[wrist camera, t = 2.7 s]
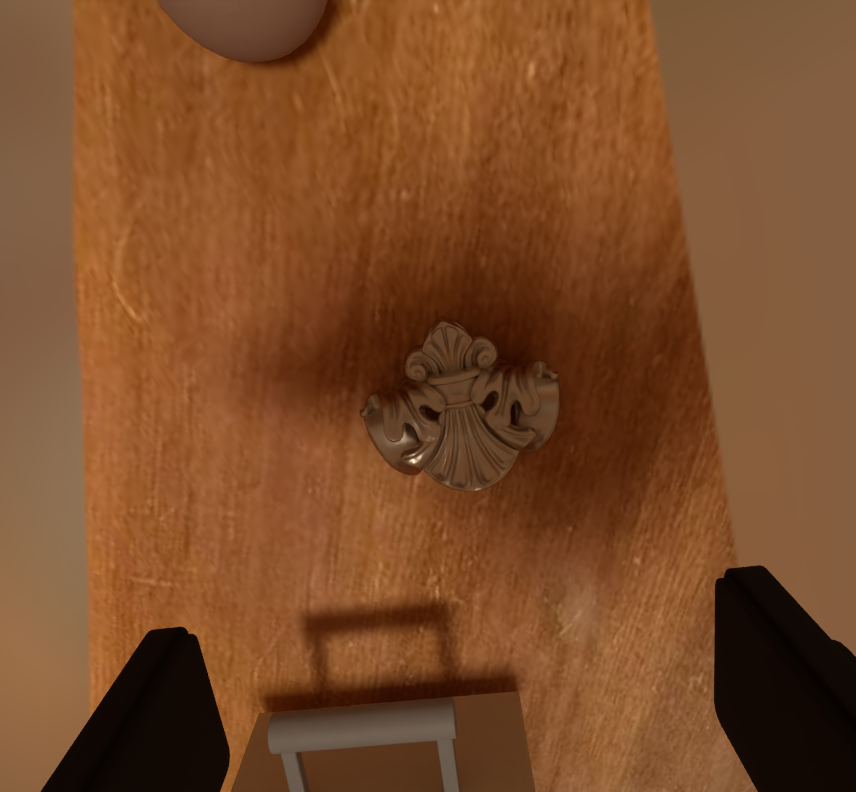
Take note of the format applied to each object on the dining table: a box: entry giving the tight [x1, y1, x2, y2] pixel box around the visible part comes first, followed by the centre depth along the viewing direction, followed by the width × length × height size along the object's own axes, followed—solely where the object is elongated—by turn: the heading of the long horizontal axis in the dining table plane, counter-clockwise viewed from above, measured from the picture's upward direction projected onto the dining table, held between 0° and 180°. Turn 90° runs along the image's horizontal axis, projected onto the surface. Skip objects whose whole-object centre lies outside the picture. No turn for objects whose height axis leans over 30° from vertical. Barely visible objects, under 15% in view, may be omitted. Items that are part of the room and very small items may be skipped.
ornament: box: [360, 315, 560, 492], centre depth 24 cm, size 8×7×4 cm
